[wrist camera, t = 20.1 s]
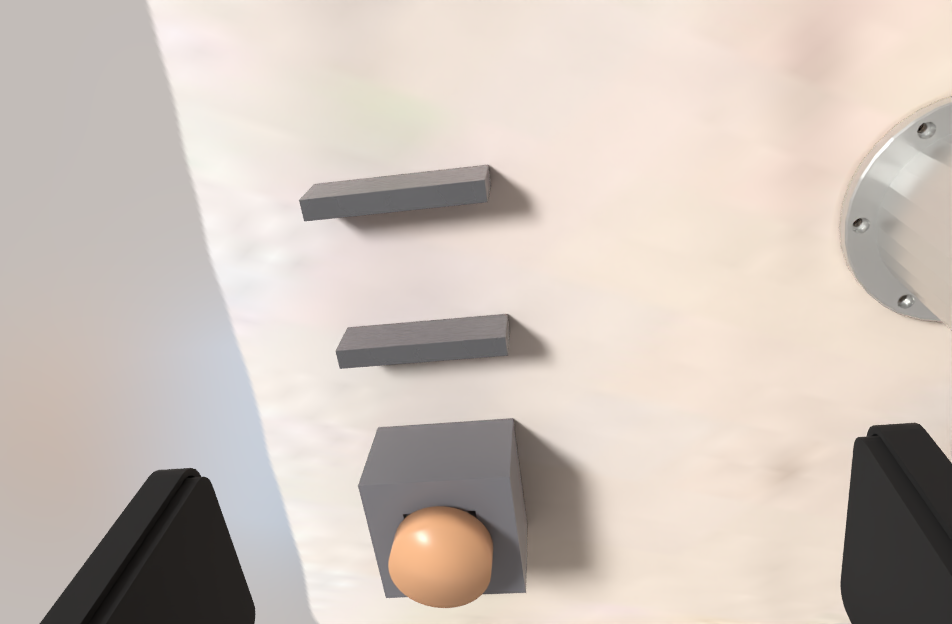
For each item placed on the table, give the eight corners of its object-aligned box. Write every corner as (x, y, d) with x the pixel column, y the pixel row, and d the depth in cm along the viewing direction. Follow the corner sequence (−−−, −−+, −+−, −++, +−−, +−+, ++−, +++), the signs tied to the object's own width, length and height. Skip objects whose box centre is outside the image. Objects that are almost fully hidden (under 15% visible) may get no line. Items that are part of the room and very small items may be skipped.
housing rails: (488, 164, 42) (484, 179, 39) (509, 331, 46) (507, 355, 43) (314, 184, 43) (299, 200, 40) (351, 344, 47) (339, 368, 45)
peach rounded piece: (491, 451, 48) (484, 527, 42) (502, 524, 51) (497, 606, 44) (400, 457, 49) (379, 532, 43) (415, 528, 52) (398, 609, 45)
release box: (513, 418, 49) (509, 477, 43) (527, 526, 52) (525, 592, 47) (378, 427, 50) (358, 485, 44) (401, 532, 54) (386, 597, 48)
